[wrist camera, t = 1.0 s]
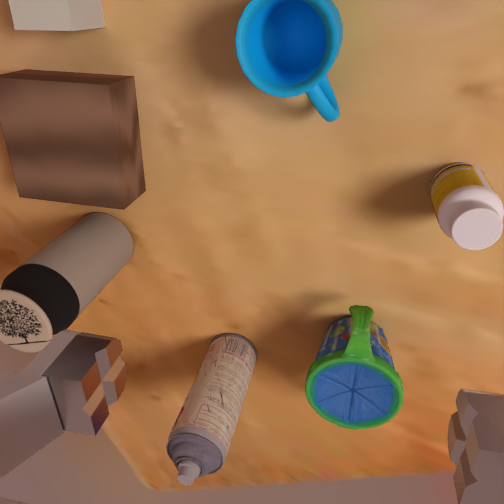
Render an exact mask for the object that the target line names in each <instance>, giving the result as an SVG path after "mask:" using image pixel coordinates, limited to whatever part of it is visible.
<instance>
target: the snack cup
mask: <svg viewBox="0 0 504 504" xmlns="http://www.w3.org/2000/svg"><path fill="white" fill-rule="evenodd" d="M349 311H350V313H351V316H352V317H345V318H342V319H339V320H337V321H336V322H334V323H332V324H331V325H330V326H329V328H328V330H327V332H326V334H325V337H324V339H323V341H322V344H321V347H320V349H319V352H318V354H317V357H316V360H315V362H314V363H313V364H312V365H311V367H310V370H309V372H308V374H307V378H306V384H305V392H306V396H307V399H308V402H309V404H310V405H311V406H312V408H313V409H314V410H315V411H316V412H317V413H318V414H319V415H320V416H321V417H323V418H324V419H326V420H328V421H330V422H332V423H334V424H337V425H338V426H340V427H344V428H349V429H366V428H373V427H377V426H380V425H382V424H384V423H386V422H388V421H390V420H391V419H392V418H394V416H395V415H396V414H397V413H398V412H399V410H400V409H401V406H402V403H403V388H402V380H401V378H400V376H399V374H398V373H397V372H396V371H395V368H394V364H393V361H392V357H391V353H390V350H389V347H388V344H387V339H386V337H385V335H384V333H383V330H382V329H381V328H379V327H378V326H377V325H376V324H375V323H373V322H372V321H371V318H372V316H373V313H374V312H373V309H372V308H370V307H367V306H358V305H354V306H351V307H350V308H349Z"/></svg>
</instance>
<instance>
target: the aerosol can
mask: <svg viewBox="0 0 504 504" xmlns="http://www.w3.org/2000/svg"><path fill="white" fill-rule="evenodd" d="M256 360H257V352H256V349H255V347H254V345H253V344H252V343H251V342H250V341H249V340H248V339H246V338H245V337H243V336H241V335H238V334H234V333H224V334H220V335H218V336H216V337H215V338H214V339H213V340H212V343H211V345H210V347H209V349H208V351H207V354H206V356H205V358H204V360H203V362H202V365H201V367H200V369H199V371H198V373H197V376H196V378H195V380H194V382H193V384H192V387H191V389H190V391H189V393H188V395H187V398H186V400H185V402H184V404H183V406H182V409H181V411H180V413H179V415H178V417H177V420H176V422H175V424H174V426H173V428H172V431H171V433H170V436H169V438H168V443H167V446H166V448H167V453H168V455H169V457H170V458H171V460H172V461H173V463H174V465H175V466H176V468H177V470H178V471H179V474H178V477H177V480H178V482H179V483H181V484H182V485H185V486H190V485H192V483H193V481H194V478H197V477H200V476H204V475H209V474H212V473H216V472H217V471H218V470H220V469H221V467H222V465H223V462H224V461H225V459H226V457H227V454H228V450H229V447H230V444H231V441H232V437H233V434H234V431H235V428H236V424H237V421H238V418H239V415H240V411H241V408H242V405H243V402H244V398H245V395H246V392H247V389H248V385H249V382H250V379H251V376H252V373H253V369H254V366H255V363H256Z"/></svg>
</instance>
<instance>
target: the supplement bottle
mask: <svg viewBox="0 0 504 504" xmlns="http://www.w3.org/2000/svg"><path fill="white" fill-rule="evenodd" d="M430 196H431V200H432V203H433V207H434V210H435V213H436V217H437V220H438V223H439V225H440V227H441V229H442V231H443V232H444V233H445V234H446V235H447V236H448V237H450V238H452V239H453V240H454V241H455V243H456V244H457V245H459V246H460V247H462V248H464V249H467V250H481V249H485V248H487V247H489V246H491V245H492V244H494V243H495V242H496V241H497V240H498V239H499V237H500V236H501V233H502V230H503V223H502V219H503V215H504V208H503V204H502V202H501V200H500V198H499V196H498V195H497V193H496V192H495V190H494V188H493V187H492V185H491V184H490V182H489V180H488V179H487V177H486V176H485V174H484V173H483V172H482V171H481V170H480V169H479V168H478V167H476V166H474V165H472V164H468V163H455V164H452V165H449V166H447V167H445V168H443V169H442V170H440V171H439V172H438V173H437V174H436V176H435V177H434V179H433V180H432V183H431V186H430Z"/></svg>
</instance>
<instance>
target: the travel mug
mask: <svg viewBox="0 0 504 504" xmlns="http://www.w3.org/2000/svg"><path fill="white" fill-rule="evenodd" d="M133 249H134V245H133V240H132V237H131V235H130V233H129V231H128V230H127V228H126V227H125V226H124V225H123V224H122V223H121V222H120V221H119V220H117V219H116V218H114V217H112V216H110V215H108V214H104V213H91V214H88V215H86V216H84V217H83V218H82V219H80V220H79V221H78V222H77V223H75V224H74V225H73V226H71V227H70V228H69V229H68V230H66V231H65V232H64V233H62V234H61V235H60V236H58V237H57V238H56V239H55V240H53V241H52V242H51V243H49V244H48V245H47V246H46V247H44V248H43V249H42V250H40V251H39V252H38V253H36V254H35V255H34V256H33V257H31V258H30V259H29V260H27V261H26V262H25V263H23V264H22V265H21V266H20V267H18V268H17V269H16V270H14V271H13V272H12V273H11V274H9V275H8V276H7V277H6V278H5V279H4V281H3V283H2V287H1V290H0V340H1V341H2V342H4V343H5V344H6V345H8V346H10V347H12V348H14V349H17V350H20V351H24V352H38V351H41V350H43V349H44V348H45V346H46V345H47V344H48V343H49V342H50V341H51V340H52V335H55V334H58V333H59V332H60V331H63V330H66V329H67V328H68V327H69V326H70V325H71V324H72V323H73V321H74V320H75V319H76V318H77V317H78V316H79V315H80V314H81V313H82V312H83V310H84V309H85V308H86V307H87V306H88V305H89V304H90V303H91V302H92V301H93V299H94V298H95V297H96V296H97V295H98V294H99V293H100V292H101V291H102V290H103V288H104V287H105V286H106V285H107V284H108V283H109V282H110V281H111V280H112V279H113V277H114V276H115V275H116V274H117V273H118V272H119V271H120V270H121V269H122V268H123V266H124V265H125V264H126V263H127V262H128V261H129V260H130V258H131V257H132V254H133Z"/></svg>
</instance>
